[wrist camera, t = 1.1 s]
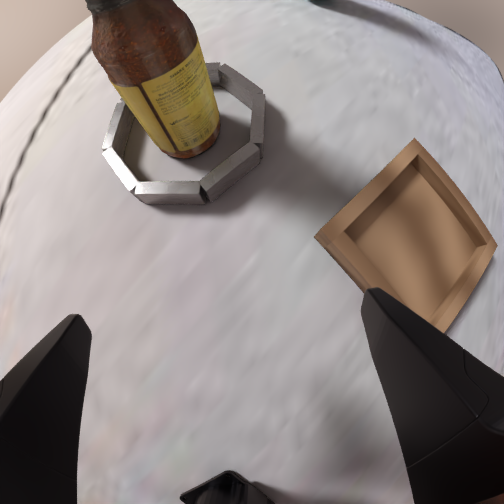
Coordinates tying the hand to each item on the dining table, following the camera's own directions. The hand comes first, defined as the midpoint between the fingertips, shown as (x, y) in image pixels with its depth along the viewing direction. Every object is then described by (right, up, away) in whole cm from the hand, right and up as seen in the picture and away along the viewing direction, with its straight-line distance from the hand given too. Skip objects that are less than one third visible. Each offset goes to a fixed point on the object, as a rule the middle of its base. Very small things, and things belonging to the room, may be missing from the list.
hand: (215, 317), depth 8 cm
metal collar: (-5, +13, +16) cm, 21 cm away
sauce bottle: (-5, +13, +16) cm, 21 cm away
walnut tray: (+15, +3, +14) cm, 20 cm away
